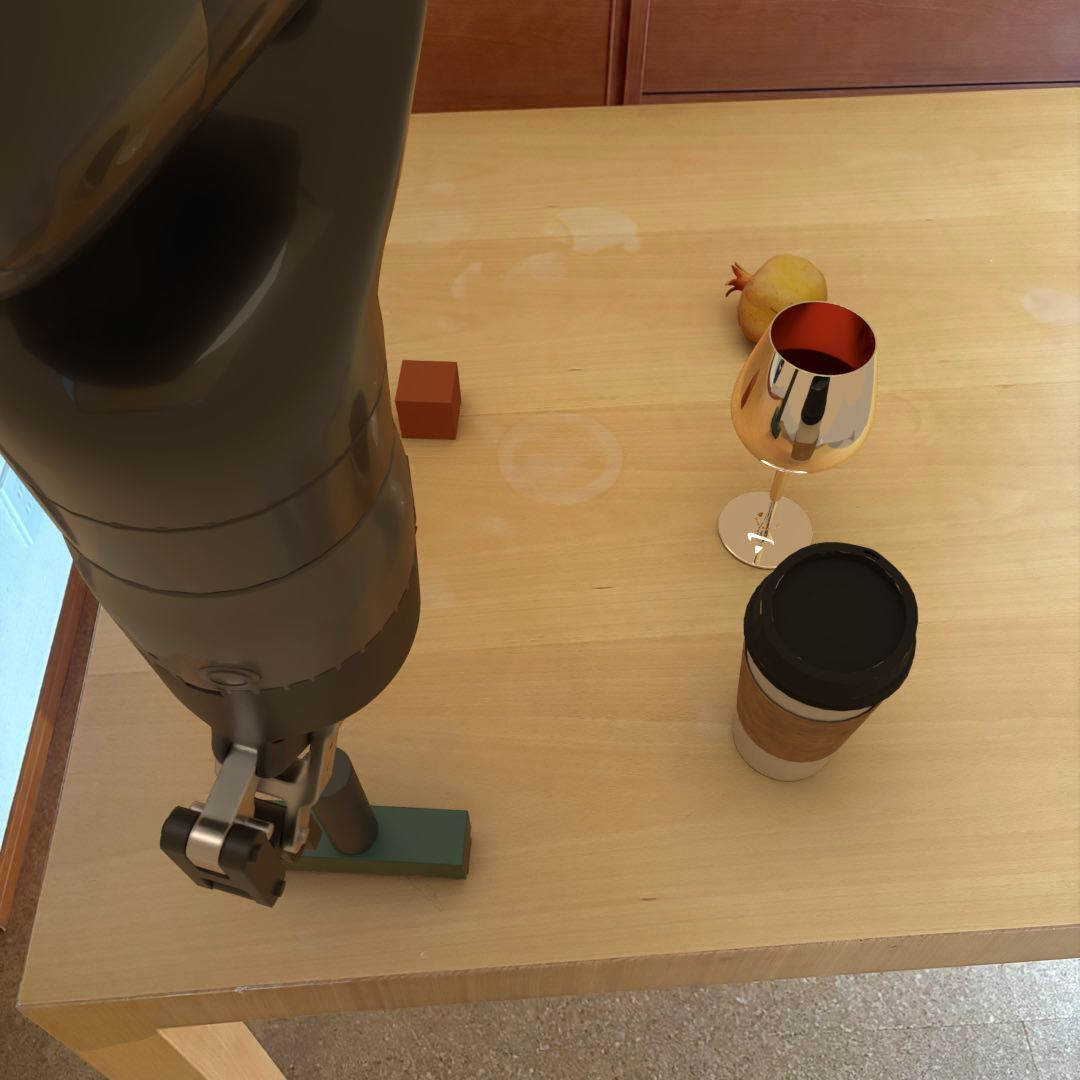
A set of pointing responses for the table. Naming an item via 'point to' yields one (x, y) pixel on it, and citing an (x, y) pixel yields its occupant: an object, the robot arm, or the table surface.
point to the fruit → (774, 291)
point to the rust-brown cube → (428, 399)
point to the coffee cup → (820, 655)
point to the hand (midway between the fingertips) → (333, 726)
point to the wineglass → (798, 419)
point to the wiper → (383, 833)
